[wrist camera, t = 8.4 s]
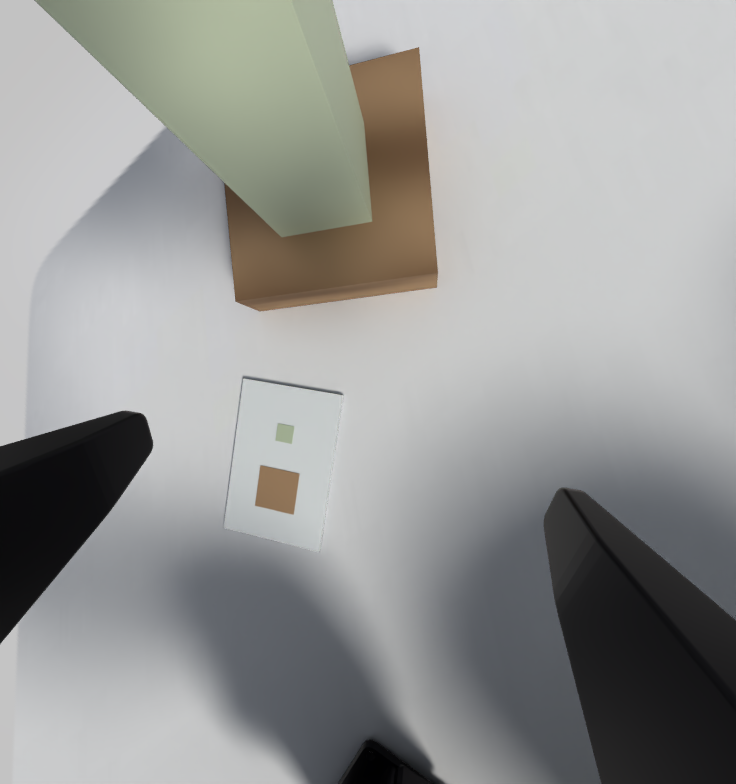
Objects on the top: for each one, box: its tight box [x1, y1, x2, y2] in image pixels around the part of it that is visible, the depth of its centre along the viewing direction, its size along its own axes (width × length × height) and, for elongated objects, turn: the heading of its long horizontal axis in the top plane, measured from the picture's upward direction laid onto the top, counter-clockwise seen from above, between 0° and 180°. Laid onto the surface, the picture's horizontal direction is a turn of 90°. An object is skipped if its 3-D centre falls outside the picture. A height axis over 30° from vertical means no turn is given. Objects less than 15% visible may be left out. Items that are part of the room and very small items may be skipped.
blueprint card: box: [224, 378, 343, 552], centre depth 20 cm, size 9×6×1 cm, turn 171°
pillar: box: [35, 0, 372, 237], centre depth 10 cm, size 4×4×13 cm
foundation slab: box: [224, 47, 438, 311], centre depth 18 cm, size 10×10×2 cm
